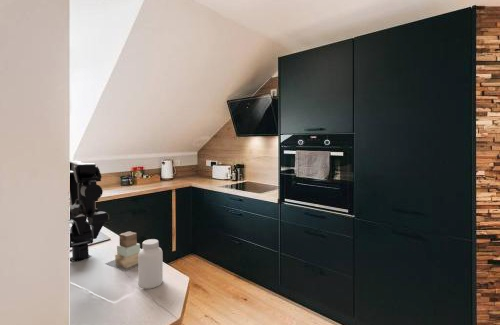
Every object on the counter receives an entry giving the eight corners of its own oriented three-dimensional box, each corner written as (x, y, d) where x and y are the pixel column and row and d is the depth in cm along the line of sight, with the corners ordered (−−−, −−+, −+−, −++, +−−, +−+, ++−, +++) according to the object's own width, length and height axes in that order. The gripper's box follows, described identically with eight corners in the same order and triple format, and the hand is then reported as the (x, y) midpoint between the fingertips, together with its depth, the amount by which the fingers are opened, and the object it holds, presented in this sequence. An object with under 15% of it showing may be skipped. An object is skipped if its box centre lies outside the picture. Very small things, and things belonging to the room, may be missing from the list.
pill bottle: (155, 290, 91) (154, 246, 90) (133, 287, 93) (132, 244, 92) (167, 279, 99) (166, 238, 98) (146, 277, 101) (146, 236, 100)
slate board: (104, 265, 110) (104, 263, 110) (126, 256, 119) (126, 255, 119) (125, 272, 103) (125, 271, 103) (147, 263, 112) (147, 261, 112)
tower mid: (117, 254, 110) (117, 245, 109) (130, 249, 115) (130, 241, 115) (126, 257, 107) (126, 248, 106) (139, 252, 112) (139, 243, 112)
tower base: (115, 264, 110) (115, 254, 109) (130, 257, 116) (130, 248, 115) (126, 268, 106) (126, 258, 106) (141, 261, 112) (141, 252, 112)
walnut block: (119, 245, 110) (119, 234, 109) (129, 241, 114) (129, 231, 113) (126, 247, 107) (126, 236, 107) (136, 244, 111) (136, 233, 111)
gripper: (50, 197, 102) (51, 238, 103) (78, 202, 93) (79, 248, 93) (81, 192, 111) (82, 230, 112) (109, 197, 102) (110, 238, 103)
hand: (87, 236), depth 105 cm, fingers open, 9 cm apart
